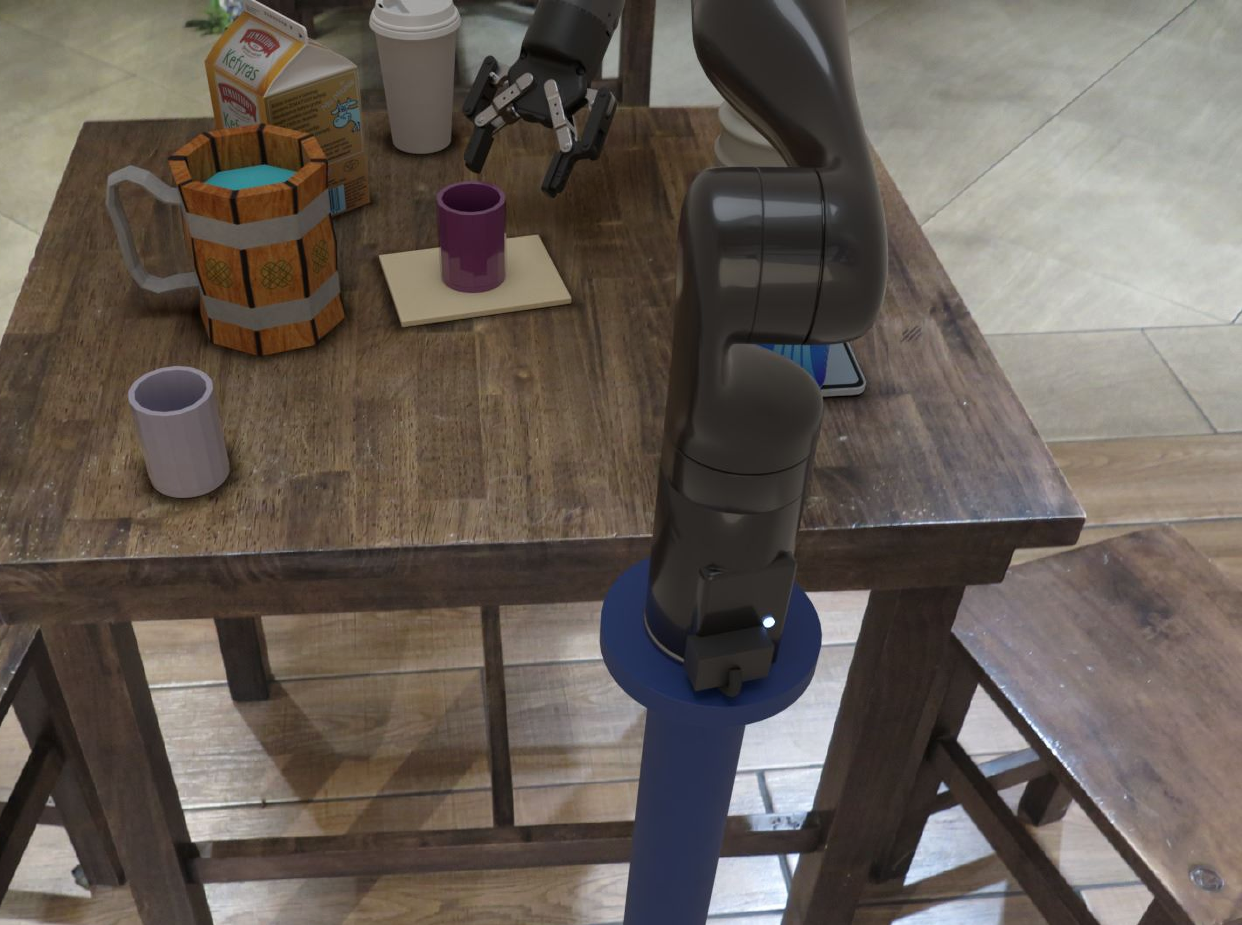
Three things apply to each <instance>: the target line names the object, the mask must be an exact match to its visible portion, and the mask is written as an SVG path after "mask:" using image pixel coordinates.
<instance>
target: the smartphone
mask: <svg viewBox="0 0 1242 925" xmlns="http://www.w3.org/2000/svg"><path fill="white" fill-rule="evenodd" d="M866 385H867V381H866V378H865V376H864V374H863V372H862V369H861V367H860V365H859V362H858V361H857V358H856V356H855V354H854V351H853V349H852V346H851V345H850V342H847V343H841V344H832V345H830V346H829V353H828V361H827V369H826V376H825V381H824V383H823V385H822V387H821V388H820V390H821V393H822V396H823V398H824V397H839V396H840V397H841V396H856V395H860V394H862V393H863V392H865V389H866Z"/></svg>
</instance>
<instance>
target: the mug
mask: <svg viewBox="0 0 1242 925" xmlns="http://www.w3.org/2000/svg"><path fill="white" fill-rule="evenodd" d="M167 161H168V164H169V167H170V170H171V173H172V176H173V180H174V182H175V185H176V187H171V186H170V185H168V184H167V183H165V182H164V181H163V180H161V179H160V178H159V177H158V176H156V175H155V174H154V173H152V172H151V171H150V170H147V169H144V168H141V167H138V166H136V165H132V164H130V165H127V166H125V167H123V168H121V169H118V170H116V171H114V172H111V173H110V174H108V176H107V182H106V191H105V192H106V193H105V201H104V204H105V207H106V210H107V213H108V215H109V218H110V220H111V224H112V226H113V228H114V231H115V234H116V238H117V242H118V246H119V250H120V254H121V256H122V259H123V261H124V265H125V267H126V271H127V273H128V274H129V275H130V276H131V278H132V279H133V280H134V281H135V283H136V284H137V286H139V288H140V289H142V290H145V291H148V292H150V293H154V294H156V295H164V294H168V293H169V294H170V293H173V292H178V291H185V290H192V289H197V288H198V302H199V313H200V316H201V319H202V323H203V325H204V328H205V330H206V333H207V336H208V339H209V342H210V343H211V344H214V345H218V346H221V347H225V348H229V349H232V350H236V351H239V352H243V353H245V354H249V355H253V356H257V357H263V356H268V355H272V354H273V355H274V354H279V353H283V352H287V351H293V350H298V349H303V348H308V347H312V346H316V345H318V344H319V343H320V342H321V341H322V340H323V339H325V337H326V336H327V335H328V334H329V333H330V332H331V331H332V330H333V329H334V328H336V326H337V325H338V324H339V323H340V322H341V321H342V320H343V319H344V318H346V316H347V314H346V309H345V304H344V301H343V297H342V294H341V286H340V277H339V267H338V265H339V264H338V263H339V262H338V240H337V236H336V231H335V226H334V222H333V217H331V212H330V203H329V195H328V160H327V158H326V156H325V154H324V153H323V151H322V149H321V147H320V145H319V144H318V142H317V140H316V138H315V137H314V135H313V134H310V133H305V132H300V131H296V130H291V129H287V128H282V127H278V126H273V125H268V124H264V123H260V124H254V125H247V126H241V127H235V128H229V129H222V130H216V129H215V130H210V131H204V132H203V131H202V132H201V133H200V134H199V135H197V136H196V137H195V138H194V139H192V140H191V141H189V142H188V143H186V144H185V145H183V146H182V147H180V148H179V149H178V150H176V151H175V152H174V153H172V154H171V155H169V156H168V157H167ZM127 182H128V183H131V184H133V185H136V186H138V187H141V188H142V189H144V190H145V191H146V192H147V193H149V194H150V195H151V196H152V197H153V198H154V199H155V200H157V201H159V202H161V203H163V204H164V205H171V206H178V207H180V209H181V218H182V227H183V236H184V241H185V244H186V247H187V251H188V254H189V256H190V259H191V262H192V267H193V270H194V271H189V272H182V273H176V274H173V275H170V276H167V277H163V278H161V277H159V276H156V275H154V274H150V273H149V272H148V270H147V269H146V267H145V266H144V265H143V263H142V262H141V260H140V258H139V254H138V250H137V247H136V243H135V239H134V235H133V231H132V226H131V223H130V221H129V218H128V216H127V214H126V211H125V209H124V206H123V204H122V201H121V199H120V185H122V184H124V183H127Z"/></svg>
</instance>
